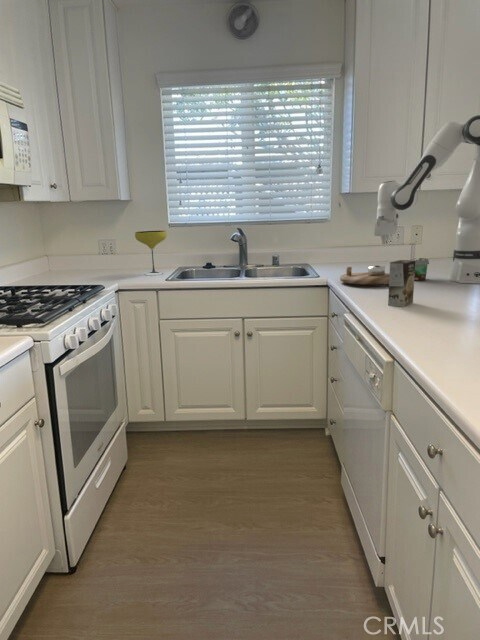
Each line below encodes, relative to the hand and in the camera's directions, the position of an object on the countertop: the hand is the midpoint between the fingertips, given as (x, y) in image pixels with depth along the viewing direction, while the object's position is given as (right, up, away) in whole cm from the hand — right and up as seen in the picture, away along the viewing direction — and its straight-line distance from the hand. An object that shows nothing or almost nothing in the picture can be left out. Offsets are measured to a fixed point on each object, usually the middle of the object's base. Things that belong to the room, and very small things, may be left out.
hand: (384, 244), depth 233 cm
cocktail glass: (-123, -11, +47) cm, 132 cm away
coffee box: (-11, -32, -56) cm, 65 cm away
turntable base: (-10, -20, -9) cm, 24 cm away
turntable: (-10, -18, -9) cm, 23 cm away
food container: (+16, -19, -6) cm, 25 cm away
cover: (-6, -16, -4) cm, 17 cm away
